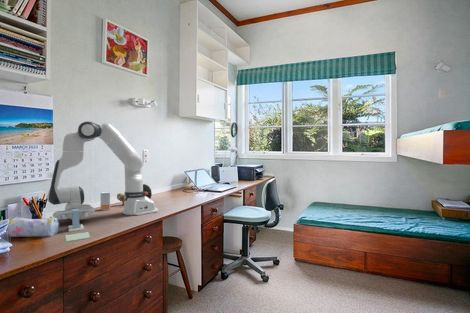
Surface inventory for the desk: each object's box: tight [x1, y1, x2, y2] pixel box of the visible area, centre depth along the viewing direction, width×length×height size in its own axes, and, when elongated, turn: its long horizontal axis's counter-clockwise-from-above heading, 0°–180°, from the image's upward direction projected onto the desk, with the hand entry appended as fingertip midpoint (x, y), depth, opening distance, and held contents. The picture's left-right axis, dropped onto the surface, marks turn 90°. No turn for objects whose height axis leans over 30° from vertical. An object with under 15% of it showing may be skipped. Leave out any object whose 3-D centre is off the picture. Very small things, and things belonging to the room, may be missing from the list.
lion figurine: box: [116, 193, 125, 206], centre depth 212 cm, size 15×5×9 cm, turn 114°
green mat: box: [65, 231, 91, 243], centre depth 137 cm, size 10×10×1 cm
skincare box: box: [100, 191, 111, 211], centre depth 196 cm, size 6×4×12 cm
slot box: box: [67, 223, 85, 233], centre depth 149 cm, size 7×8×2 cm
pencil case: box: [6, 215, 61, 238], centre depth 139 cm, size 21×9×10 cm, turn 95°
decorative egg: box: [143, 183, 153, 200], centre depth 215 cm, size 12×12×15 cm
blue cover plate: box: [71, 209, 80, 229], centre depth 149 cm, size 3×4×10 cm, turn 32°
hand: (75, 216), depth 153 cm, fingers open, 8 cm apart
